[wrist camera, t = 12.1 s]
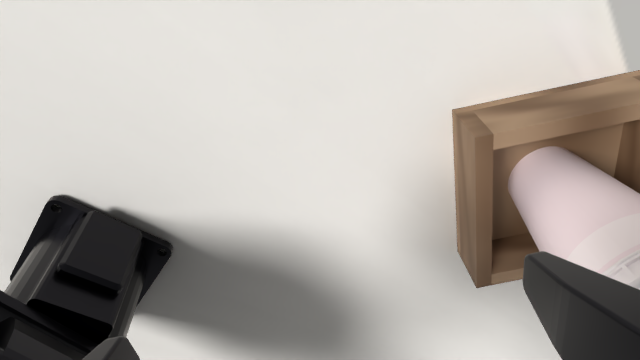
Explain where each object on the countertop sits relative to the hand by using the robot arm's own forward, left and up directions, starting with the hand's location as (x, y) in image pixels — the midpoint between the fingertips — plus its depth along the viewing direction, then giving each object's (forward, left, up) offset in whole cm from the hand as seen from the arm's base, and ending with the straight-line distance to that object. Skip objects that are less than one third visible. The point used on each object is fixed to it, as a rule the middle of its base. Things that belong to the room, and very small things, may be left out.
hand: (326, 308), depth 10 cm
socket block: (+3, -13, -13) cm, 19 cm away
